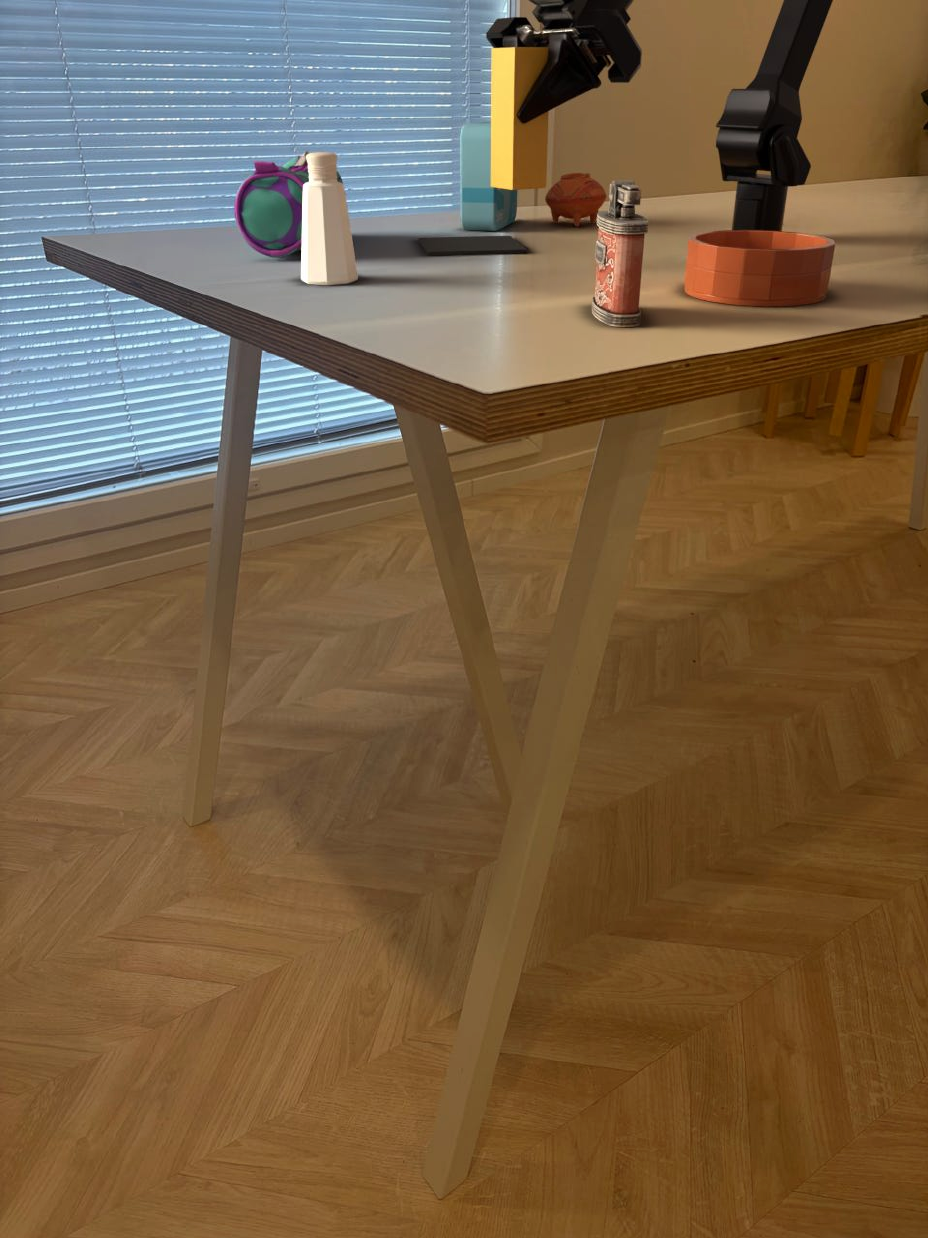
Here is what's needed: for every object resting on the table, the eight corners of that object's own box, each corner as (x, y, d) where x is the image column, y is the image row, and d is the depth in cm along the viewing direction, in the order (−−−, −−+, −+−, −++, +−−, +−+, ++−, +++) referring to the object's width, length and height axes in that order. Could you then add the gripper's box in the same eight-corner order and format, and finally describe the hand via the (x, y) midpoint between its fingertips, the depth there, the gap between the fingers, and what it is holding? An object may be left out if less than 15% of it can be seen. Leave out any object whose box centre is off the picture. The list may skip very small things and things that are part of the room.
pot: (615, 224, 127) (606, 168, 124) (555, 240, 128) (545, 185, 124) (605, 214, 134) (596, 161, 130) (548, 230, 135) (538, 177, 131)
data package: (494, 232, 123) (496, 124, 118) (460, 231, 125) (459, 124, 119) (517, 220, 134) (519, 121, 128) (484, 219, 135) (485, 120, 129)
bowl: (719, 275, 96) (725, 226, 94) (845, 289, 89) (854, 236, 87) (660, 295, 87) (665, 241, 85) (794, 312, 81) (803, 254, 79)
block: (523, 184, 101) (526, 48, 95) (546, 187, 98) (550, 47, 92) (490, 186, 99) (491, 47, 93) (512, 190, 96) (514, 46, 90)
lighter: (584, 306, 83) (591, 176, 79) (624, 305, 84) (633, 176, 79) (604, 327, 76) (613, 186, 72) (648, 326, 77) (660, 185, 72)
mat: (418, 240, 117) (418, 237, 117) (509, 238, 119) (509, 235, 118) (427, 255, 108) (427, 251, 108) (527, 252, 109) (527, 249, 109)
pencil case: (276, 234, 123) (268, 148, 118) (347, 234, 122) (342, 148, 118) (235, 261, 104) (225, 161, 100) (319, 261, 104) (312, 161, 99)
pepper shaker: (326, 287, 91) (317, 155, 86) (289, 280, 95) (278, 153, 89) (369, 279, 95) (364, 152, 90) (332, 273, 98) (325, 150, 93)
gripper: (503, -79, 96) (406, 52, 97) (625, -106, 82) (512, 47, 82) (566, 18, 103) (476, 139, 104) (688, 8, 89) (583, 148, 90)
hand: (507, 118), depth 95 cm, fingers closed on block, 4 cm apart
